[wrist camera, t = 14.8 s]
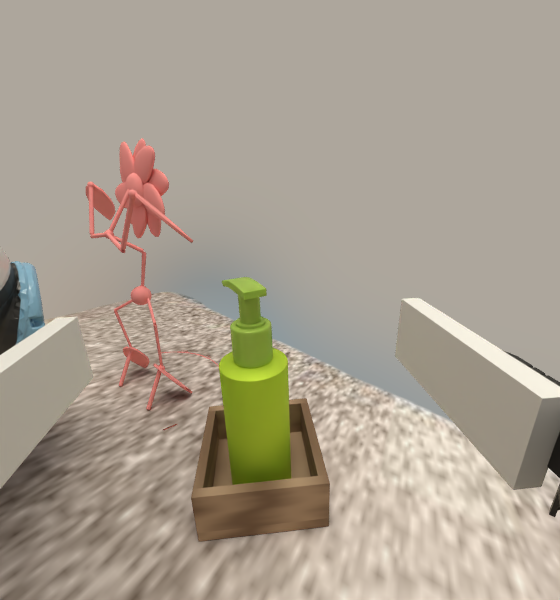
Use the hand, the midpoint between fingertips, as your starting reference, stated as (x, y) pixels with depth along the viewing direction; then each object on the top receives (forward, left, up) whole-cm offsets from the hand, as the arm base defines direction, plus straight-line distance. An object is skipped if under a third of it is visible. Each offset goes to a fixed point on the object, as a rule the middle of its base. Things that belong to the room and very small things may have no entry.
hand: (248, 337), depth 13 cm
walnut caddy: (-7, +10, -22) cm, 25 cm away
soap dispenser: (-7, +10, -21) cm, 24 cm away
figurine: (-30, +19, -22) cm, 42 cm away
